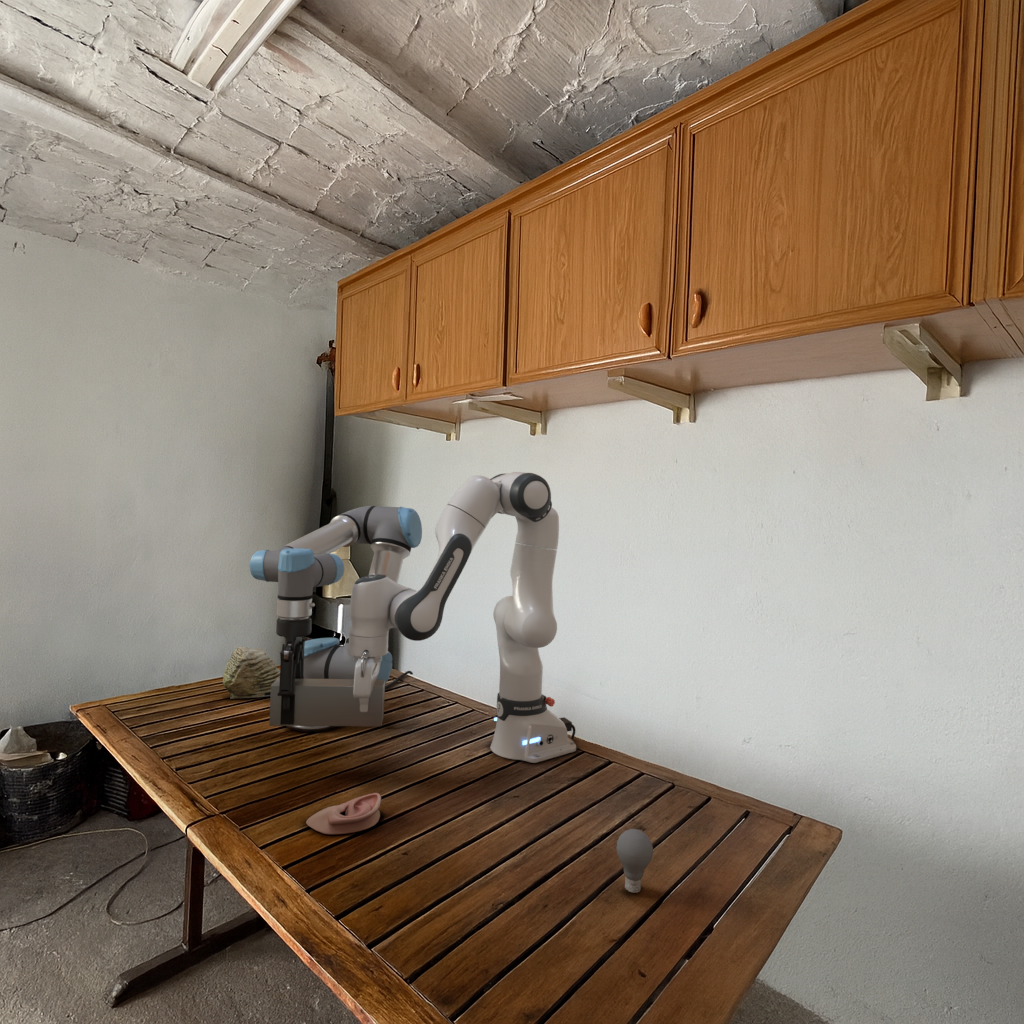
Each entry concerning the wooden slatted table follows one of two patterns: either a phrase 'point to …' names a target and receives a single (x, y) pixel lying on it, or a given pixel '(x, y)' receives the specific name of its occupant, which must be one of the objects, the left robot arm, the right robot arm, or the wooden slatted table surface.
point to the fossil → (250, 673)
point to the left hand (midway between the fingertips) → (290, 718)
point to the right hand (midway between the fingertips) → (366, 705)
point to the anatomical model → (347, 816)
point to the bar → (329, 703)
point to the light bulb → (634, 857)
